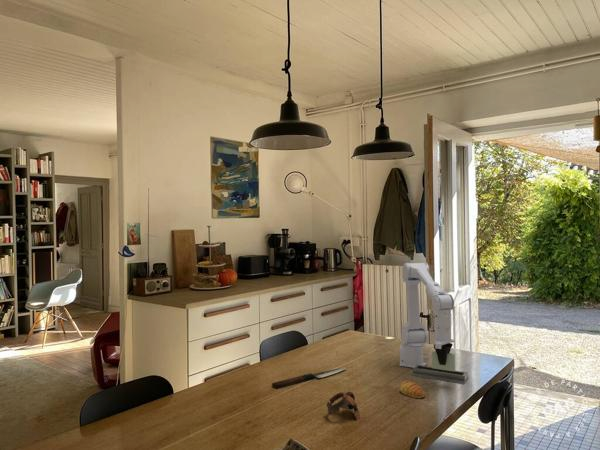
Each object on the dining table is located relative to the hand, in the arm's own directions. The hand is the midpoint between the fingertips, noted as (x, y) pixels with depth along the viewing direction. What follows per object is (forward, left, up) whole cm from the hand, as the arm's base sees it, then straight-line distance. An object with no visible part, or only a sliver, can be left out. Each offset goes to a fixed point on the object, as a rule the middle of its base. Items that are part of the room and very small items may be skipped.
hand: (443, 363), depth 170 cm
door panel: (0, 0, -2) cm, 2 cm away
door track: (-4, +10, -8) cm, 14 cm away
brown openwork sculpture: (-20, -42, -9) cm, 47 cm away
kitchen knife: (-46, -17, -9) cm, 50 cm away
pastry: (-8, -13, -9) cm, 17 cm away
